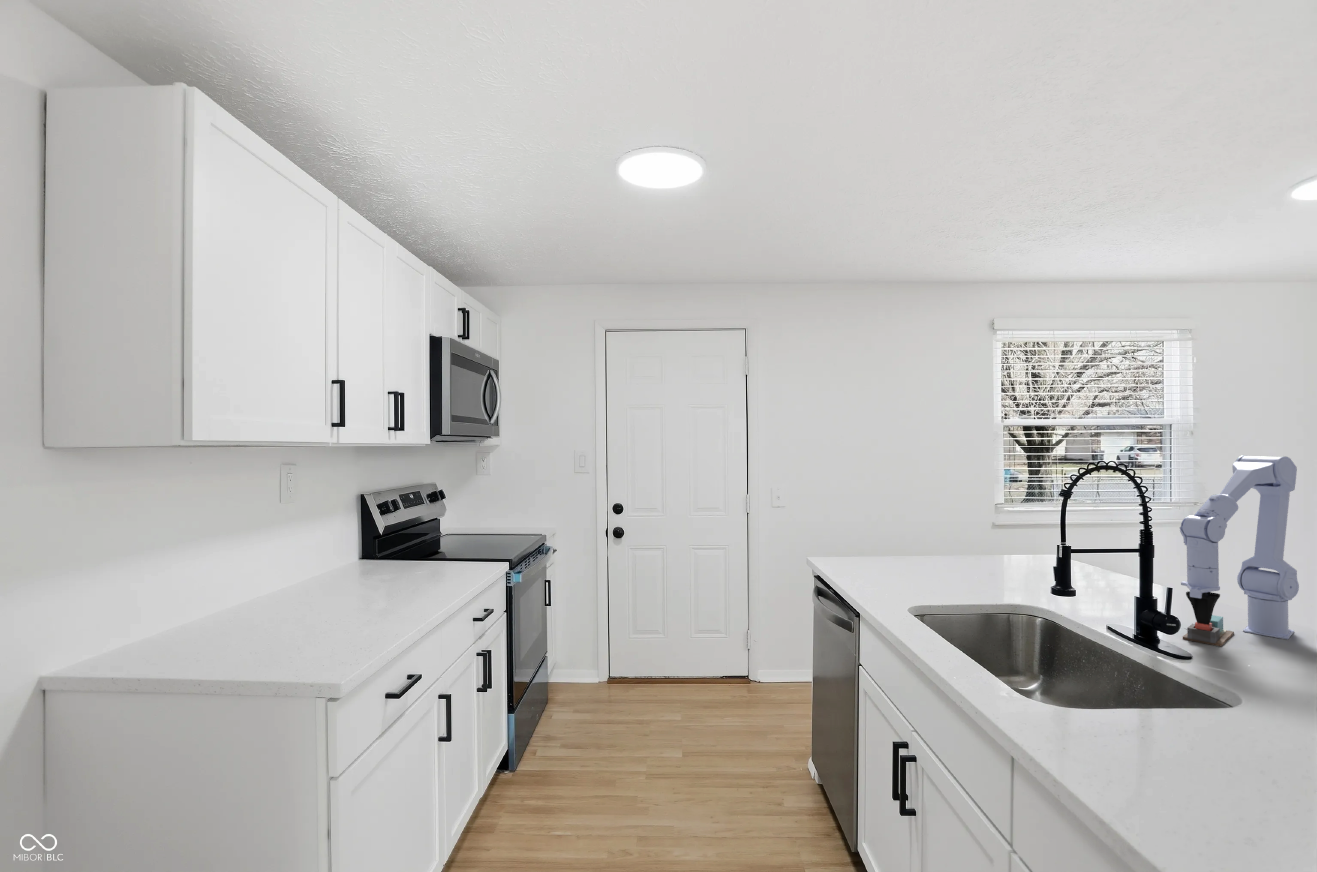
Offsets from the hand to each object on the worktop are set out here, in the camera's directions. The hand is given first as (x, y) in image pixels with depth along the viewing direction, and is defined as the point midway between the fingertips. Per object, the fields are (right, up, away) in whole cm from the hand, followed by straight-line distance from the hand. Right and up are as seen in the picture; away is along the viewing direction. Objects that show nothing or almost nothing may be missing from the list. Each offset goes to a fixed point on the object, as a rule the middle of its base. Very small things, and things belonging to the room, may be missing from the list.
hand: (1203, 622), depth 148 cm
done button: (0, -2, 0) cm, 2 cm away
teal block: (+7, -4, +5) cm, 9 cm away
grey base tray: (+4, -4, +3) cm, 7 cm away
